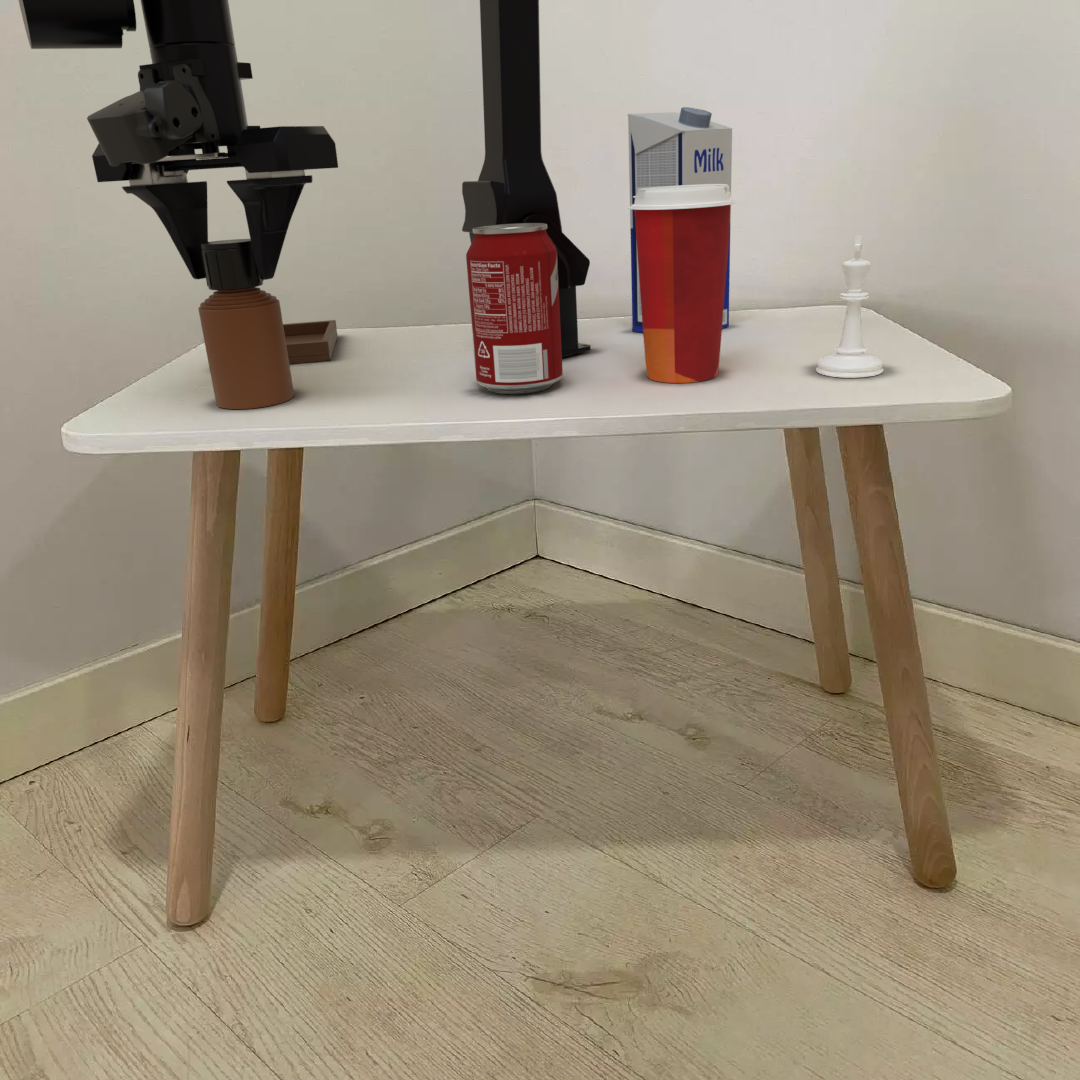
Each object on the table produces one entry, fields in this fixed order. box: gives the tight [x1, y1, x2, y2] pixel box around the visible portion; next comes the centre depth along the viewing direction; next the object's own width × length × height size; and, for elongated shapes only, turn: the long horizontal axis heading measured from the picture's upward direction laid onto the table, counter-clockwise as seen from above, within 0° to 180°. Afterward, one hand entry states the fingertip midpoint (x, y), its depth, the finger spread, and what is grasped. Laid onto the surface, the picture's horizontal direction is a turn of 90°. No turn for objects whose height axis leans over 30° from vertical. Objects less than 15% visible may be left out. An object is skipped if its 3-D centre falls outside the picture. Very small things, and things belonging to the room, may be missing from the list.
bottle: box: [197, 286, 295, 410], centre depth 73 cm, size 6×6×12 cm
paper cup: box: [628, 184, 736, 384], centre depth 72 cm, size 8×8×14 cm
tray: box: [283, 319, 339, 365], centre depth 94 cm, size 13×10×2 cm
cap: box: [201, 238, 264, 291], centre depth 71 cm, size 4×4×3 cm
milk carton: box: [627, 106, 734, 334], centre depth 90 cm, size 7×7×20 cm
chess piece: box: [815, 234, 884, 379], centre depth 71 cm, size 5×5×10 cm
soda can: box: [465, 223, 564, 395], centre depth 72 cm, size 7×7×12 cm
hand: (232, 278), depth 72 cm, fingers open, 6 cm apart
